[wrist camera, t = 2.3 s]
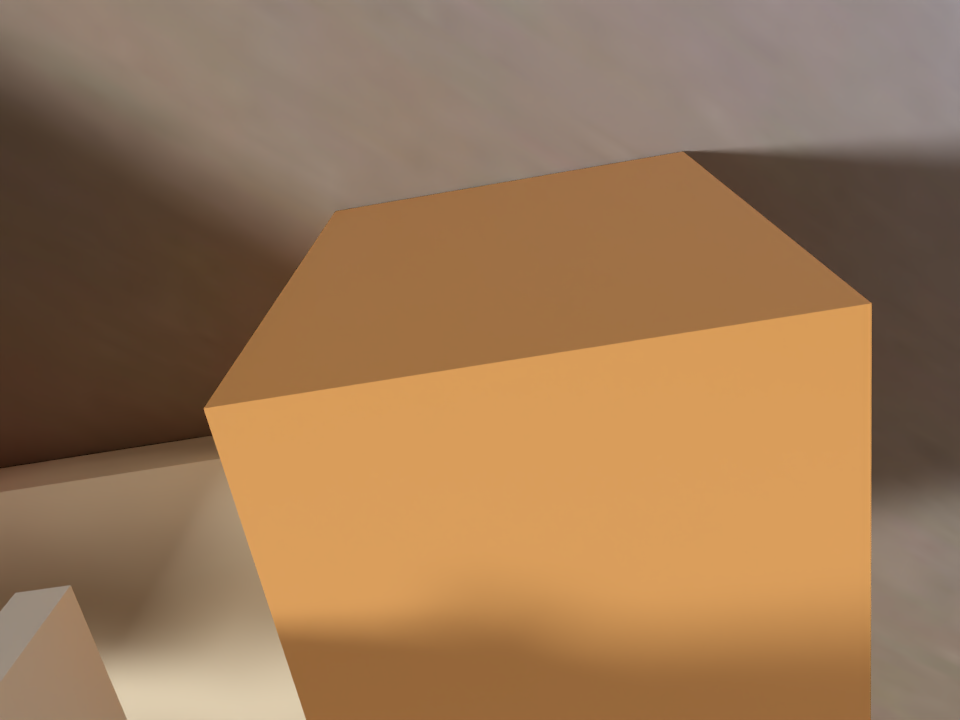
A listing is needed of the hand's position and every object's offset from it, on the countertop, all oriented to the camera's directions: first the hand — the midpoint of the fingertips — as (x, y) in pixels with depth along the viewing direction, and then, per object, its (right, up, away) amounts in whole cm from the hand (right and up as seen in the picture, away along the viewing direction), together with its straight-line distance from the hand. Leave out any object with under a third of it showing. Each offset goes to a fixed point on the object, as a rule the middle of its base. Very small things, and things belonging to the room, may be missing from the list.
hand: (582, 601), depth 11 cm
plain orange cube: (0, +3, +7) cm, 8 cm away
